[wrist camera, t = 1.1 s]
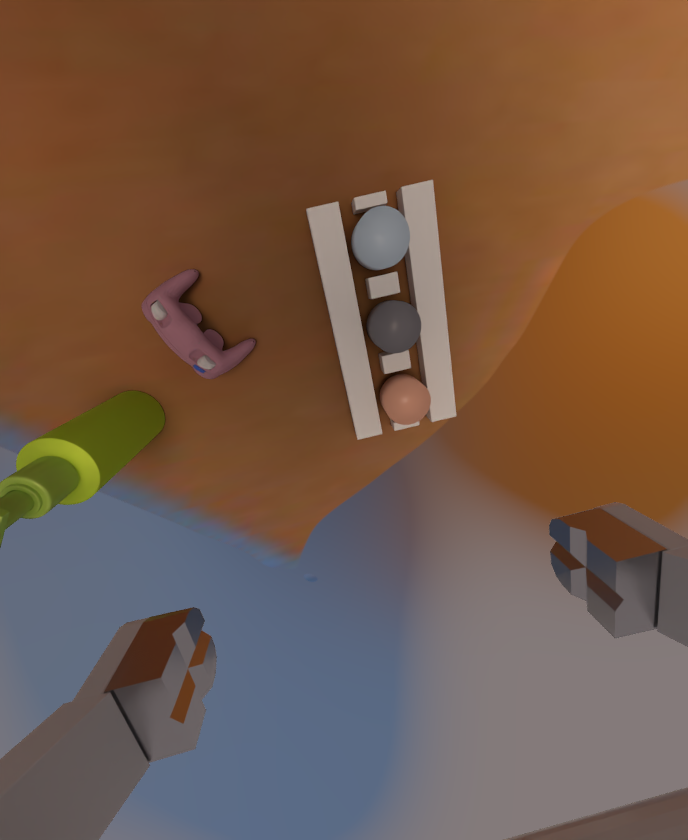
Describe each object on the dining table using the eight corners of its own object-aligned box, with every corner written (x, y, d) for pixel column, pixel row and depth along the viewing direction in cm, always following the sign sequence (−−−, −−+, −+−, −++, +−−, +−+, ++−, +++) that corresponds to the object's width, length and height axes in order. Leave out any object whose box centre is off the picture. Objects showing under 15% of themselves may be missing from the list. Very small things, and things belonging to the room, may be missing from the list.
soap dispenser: (101, 435, 39) (-89, 567, 20) (117, 381, 37) (-78, 473, 18) (154, 453, 40) (21, 593, 22) (171, 403, 38) (42, 508, 20)
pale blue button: (346, 219, 32) (349, 212, 29) (397, 207, 32) (405, 199, 30) (356, 275, 34) (360, 274, 31) (405, 264, 34) (413, 261, 31)
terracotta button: (376, 379, 38) (381, 386, 35) (419, 369, 38) (427, 375, 35) (383, 419, 40) (389, 429, 37) (424, 410, 40) (433, 418, 37)
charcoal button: (362, 306, 35) (367, 307, 32) (409, 295, 35) (417, 295, 32) (371, 353, 37) (376, 358, 34) (415, 342, 37) (424, 346, 34)
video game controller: (172, 288, 36) (120, 309, 30) (195, 261, 33) (143, 280, 28) (237, 362, 39) (201, 394, 34) (263, 343, 37) (228, 374, 31)
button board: (306, 213, 33) (306, 208, 31) (425, 186, 33) (432, 179, 31) (355, 433, 42) (357, 439, 40) (449, 410, 42) (456, 416, 40)
